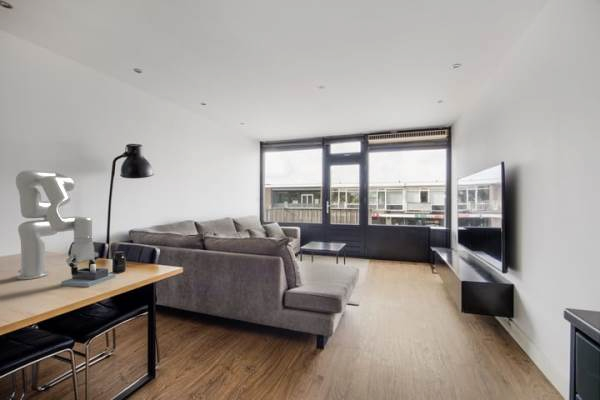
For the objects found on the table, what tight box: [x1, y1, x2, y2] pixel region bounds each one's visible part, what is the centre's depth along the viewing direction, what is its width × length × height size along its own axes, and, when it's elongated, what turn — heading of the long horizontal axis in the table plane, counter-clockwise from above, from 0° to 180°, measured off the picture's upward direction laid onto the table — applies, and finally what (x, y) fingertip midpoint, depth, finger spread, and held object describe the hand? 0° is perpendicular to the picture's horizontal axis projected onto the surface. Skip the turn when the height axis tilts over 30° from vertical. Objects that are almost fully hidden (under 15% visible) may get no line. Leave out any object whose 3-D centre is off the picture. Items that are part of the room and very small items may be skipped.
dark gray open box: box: [71, 267, 109, 280], centre depth 142 cm, size 14×8×4 cm, turn 82°
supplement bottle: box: [111, 251, 127, 274], centre depth 160 cm, size 7×7×12 cm
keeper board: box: [61, 263, 117, 288], centre depth 142 cm, size 16×16×9 cm
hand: (83, 271), depth 143 cm, fingers open, 9 cm apart
